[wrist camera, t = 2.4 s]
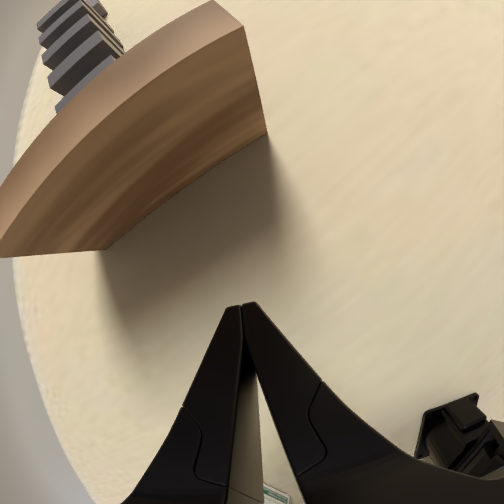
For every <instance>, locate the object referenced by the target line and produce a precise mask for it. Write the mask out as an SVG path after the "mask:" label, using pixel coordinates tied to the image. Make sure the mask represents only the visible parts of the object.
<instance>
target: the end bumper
mask: <svg viewBox="0 0 504 504" xmlns="http://www.w3.org/2000/svg"><path fill="white" fill-rule="evenodd" d="M86 1H87V2H88V3H89V5H90V6H91V7H92V8H93V9H94V10H95V11H96V12H97V13H98V14H99V15H100V16H101V17H103V16H104V15H106V14H107V12H106V10H105V9H104V7H103V6H102V4H101V3H100V1H99V0H86Z"/></svg>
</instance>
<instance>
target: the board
mask: <svg viewBox="0 0 504 504" xmlns="http://www.w3.org/2000/svg"><path fill="white" fill-rule="evenodd" d="M266 133H267V128H266V123H265V118H264V114H263V109H262V104H261V99H260V95H259V90H258V85H257V81H256V76H255V72H254V68H253V63H252V59H251V55H250V50H249V46H248V42H247V38H246V34H245V30H244V26H243V25H242V24H241V23H240V22H239V21H238V20H237V19H235V18H234V17H233V16H232V15H231V14H230V13H228V12H227V11H226V10H225V9H224V8H222V7H221V6H220V5H219V4H218V3H216V2H215V1H214V0H211V1H209V2H207V3H205V4H203V5H201V6H199V7H197V8H195V9H193V10H191V11H189V12H188V13H186V14H184V15H182V16H180V17H179V18H177V19H175V20H174V21H172V22H170V23H169V24H167V25H165V26H164V27H162V28H160V29H159V30H157V31H156V32H154V33H153V34H151V35H150V36H148V37H147V38H145V39H144V40H142V41H141V42H140V43H138V44H137V45H135V46H134V47H133V48H131V49H130V50H128V51H127V52H126V53H124V54H123V55H122V56H121V57H119V58H118V59H117V60H115V61H114V62H113V63H112V64H110V65H109V66H108V67H107V68H106V69H104V70H103V71H102V72H101V73H100V74H98V75H97V76H96V77H95V78H94V79H93V80H92V81H90V82H89V83H88V84H87V85H86V86H85V87H84V88H83V89H82V90H81V91H80V92H79V93H78V94H76V95H75V96H74V97H73V98H72V99H71V100H70V101H69V102H68V103H67V104H66V105H65V106H64V107H63V109H62V110H61V111H60V112H59V113H58V114H57V115H56V116H55V117H54V118H53V119H52V120H51V121H50V123H49V124H48V125H47V126H46V127H45V128H44V129H43V131H42V132H41V133H40V134H39V135H38V136H37V138H36V139H35V140H34V141H33V143H32V144H31V145H30V146H29V148H28V149H27V150H26V151H25V153H24V154H23V155H22V157H21V158H20V159H19V161H18V162H17V163H16V165H15V166H14V168H13V169H12V170H11V172H10V173H9V175H8V176H7V178H6V179H5V181H4V182H3V184H2V186H1V187H0V258H8V257H20V256H32V255H44V254H57V253H69V252H83V251H96V250H106V249H107V248H108V247H109V246H110V245H112V244H113V243H114V242H115V241H116V240H118V239H119V238H120V237H121V236H122V235H124V234H125V233H126V232H127V231H129V230H130V229H131V228H132V227H133V226H135V225H136V224H137V223H138V222H140V221H141V220H142V219H143V218H145V217H146V216H147V215H149V214H150V213H151V212H152V211H154V210H155V209H156V208H158V207H159V206H160V205H162V204H163V203H164V202H166V201H167V200H168V199H170V198H171V197H172V196H174V195H175V194H176V193H178V192H179V191H181V190H182V189H183V188H185V187H186V186H187V185H189V184H190V183H192V182H193V181H194V180H196V179H197V178H199V177H200V176H202V175H203V174H204V173H206V172H207V171H209V170H210V169H212V168H213V167H215V166H216V165H218V164H219V163H221V162H222V161H224V160H225V159H227V158H228V157H230V156H231V155H233V154H234V153H236V152H237V151H239V150H241V149H242V148H244V147H245V146H247V145H248V144H250V143H252V142H253V141H255V140H256V139H258V138H260V137H261V136H263V135H265V134H266Z"/></svg>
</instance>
